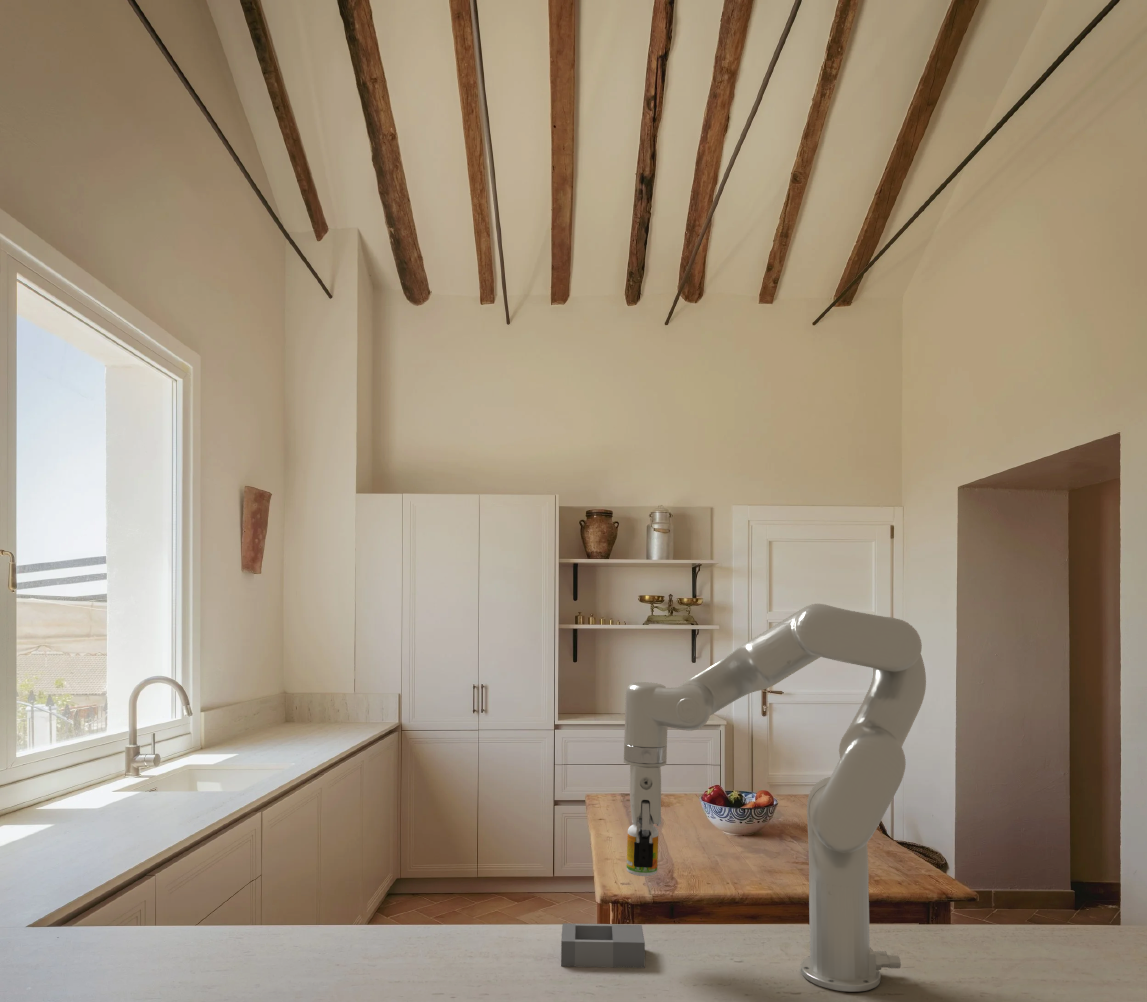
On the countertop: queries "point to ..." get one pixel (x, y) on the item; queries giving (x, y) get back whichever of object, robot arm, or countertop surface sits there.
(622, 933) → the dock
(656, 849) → the supplement bottle
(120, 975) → the countertop surface
